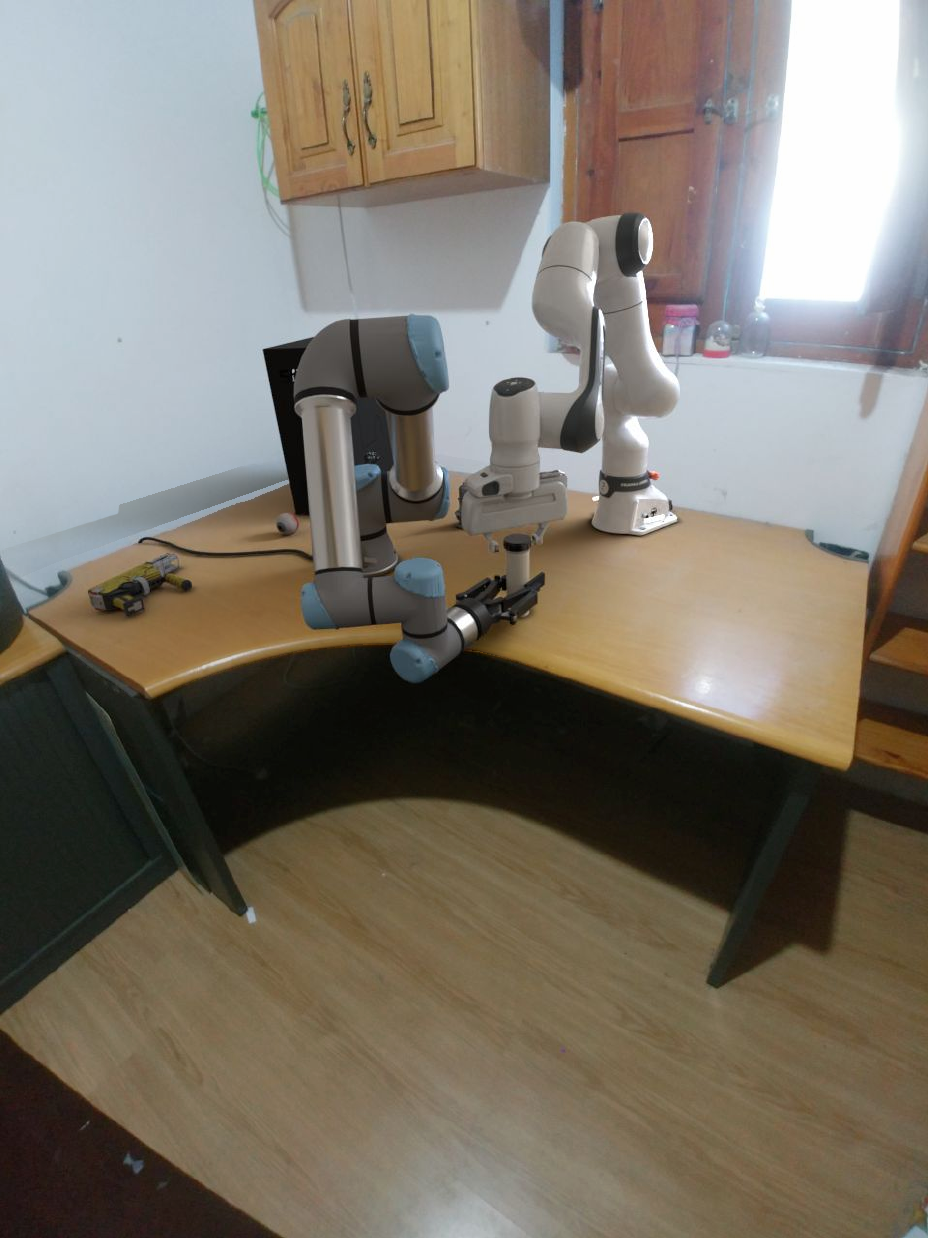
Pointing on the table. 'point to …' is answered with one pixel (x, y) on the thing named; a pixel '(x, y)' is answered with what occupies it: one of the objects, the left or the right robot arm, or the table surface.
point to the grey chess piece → (460, 503)
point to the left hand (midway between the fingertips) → (531, 575)
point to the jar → (516, 571)
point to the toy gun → (136, 585)
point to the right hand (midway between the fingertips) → (515, 547)
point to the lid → (517, 542)
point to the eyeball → (287, 523)
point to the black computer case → (365, 424)
